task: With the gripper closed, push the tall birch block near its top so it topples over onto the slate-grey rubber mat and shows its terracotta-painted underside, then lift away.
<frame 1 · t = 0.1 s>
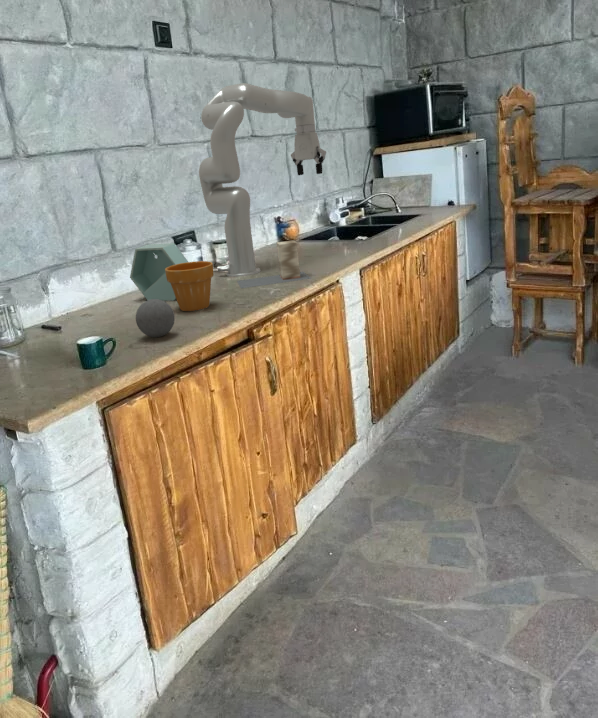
hand: (310, 174, 278), 31 cm above the countertop, tool pointing down, fingers open, 9 cm apart
birch block: (290, 277, 237), resting on slate mat
decorative ball: (158, 337, 182), on the countertop
flower pot: (195, 308, 210), on the countertop
slate mat: (273, 281, 236), on the countertop
planter: (165, 298, 228), on the countertop
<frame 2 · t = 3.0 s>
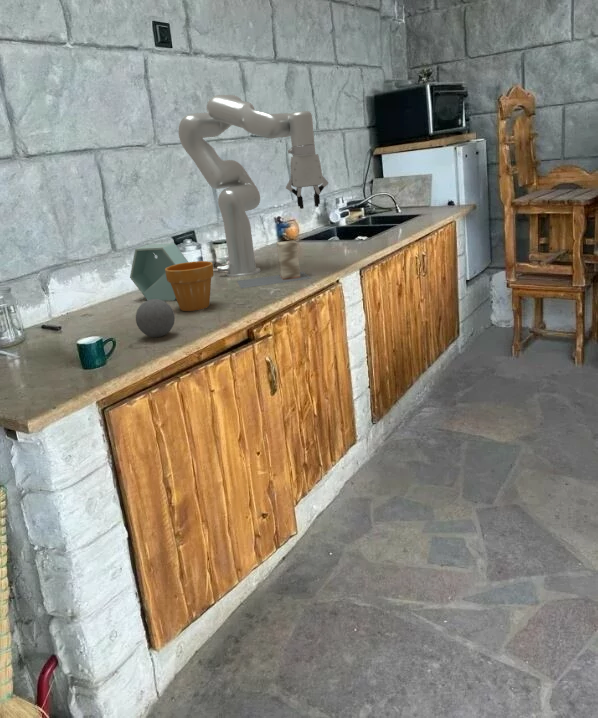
hand: (309, 206, 231), 23 cm above the countertop, tool pointing down, fingers open, 4 cm apart
nothing on the countertop moved.
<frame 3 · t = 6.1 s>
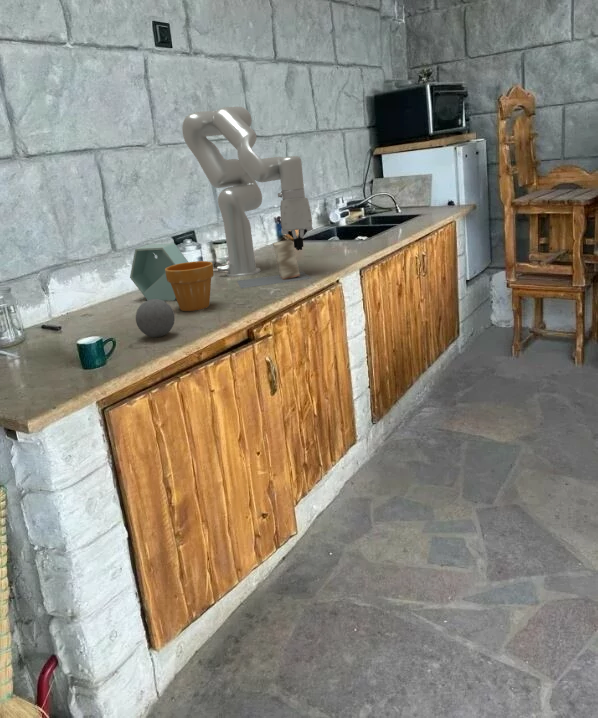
hand: (299, 249, 235), 10 cm above the countertop, tool pointing down, fingers closed
birch block: (290, 276, 237), point 1 cm above the countertop, tilted 6°, touching slate mat
everything else where it was.
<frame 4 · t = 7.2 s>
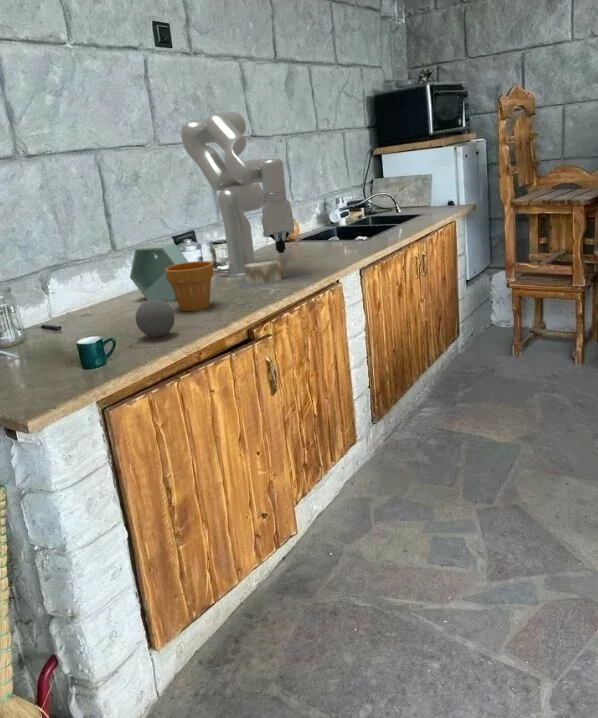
hand: (281, 252, 234), 9 cm above the countertop, tool pointing down, fingers closed
birch block: (280, 269, 236), point 3 cm above the countertop, tilted 90°, touching slate mat
everything else where it was.
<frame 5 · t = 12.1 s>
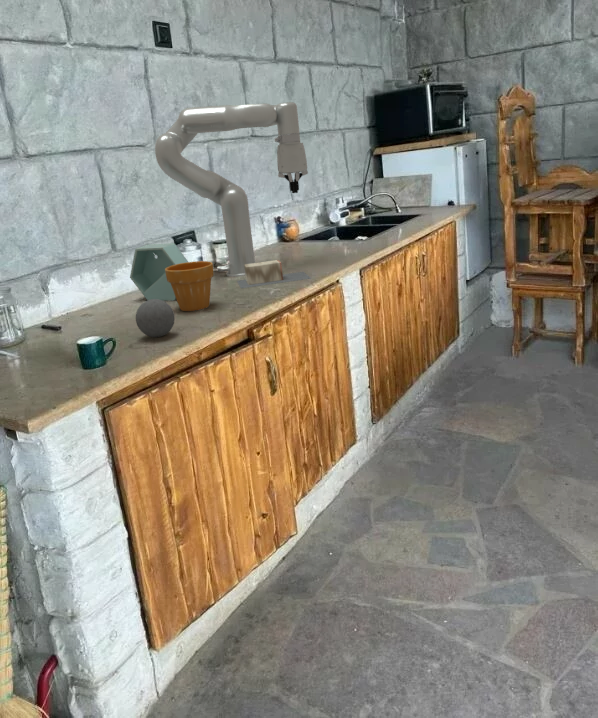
hand: (294, 192, 248), 27 cm above the countertop, tool pointing down, fingers closed
nothing on the countertop moved.
at the end: birch block tilted 90°; birch block inside the target area on the slate mat (1.0 cm from its centre), point 3.5 cm above the slate mat's base; birch block touching slate mat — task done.
